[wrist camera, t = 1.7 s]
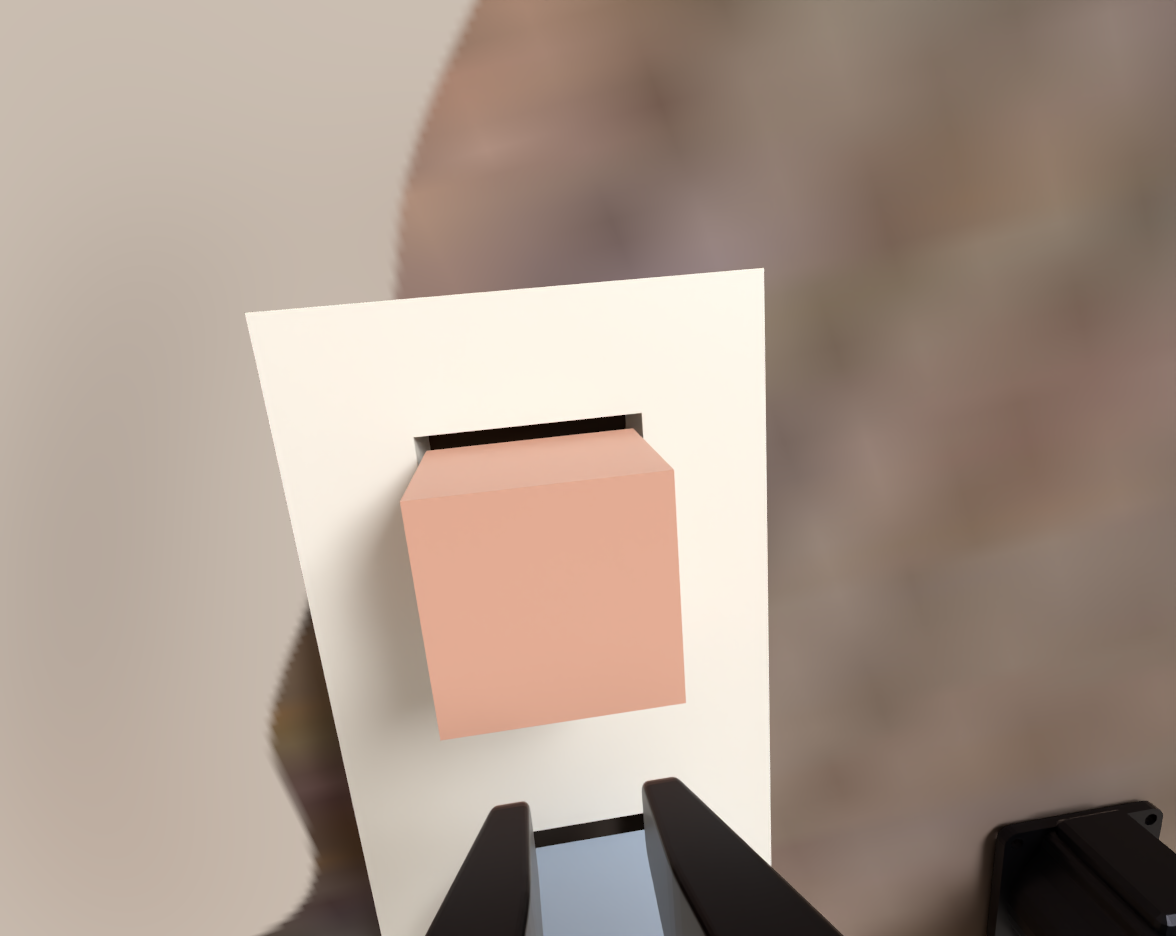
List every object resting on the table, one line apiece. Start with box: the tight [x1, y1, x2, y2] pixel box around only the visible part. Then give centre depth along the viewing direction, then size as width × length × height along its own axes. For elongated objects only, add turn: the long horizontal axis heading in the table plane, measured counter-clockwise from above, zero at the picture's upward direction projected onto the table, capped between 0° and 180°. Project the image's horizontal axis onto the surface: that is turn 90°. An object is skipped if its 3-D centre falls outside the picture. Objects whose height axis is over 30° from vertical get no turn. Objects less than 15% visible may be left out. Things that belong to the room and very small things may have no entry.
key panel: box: [245, 268, 771, 936], centre depth 19 cm, size 24×12×2 cm, turn 5°
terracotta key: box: [400, 428, 686, 741], centre depth 14 cm, size 5×5×4 cm
